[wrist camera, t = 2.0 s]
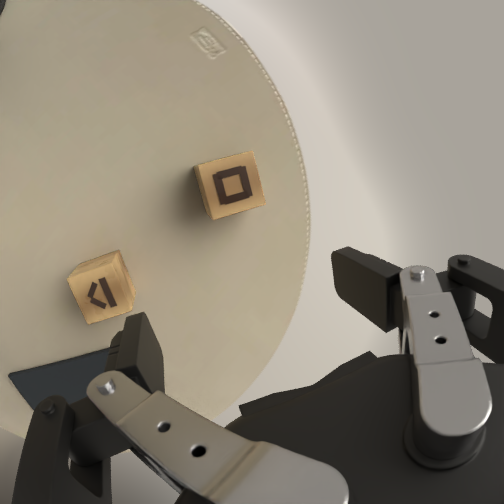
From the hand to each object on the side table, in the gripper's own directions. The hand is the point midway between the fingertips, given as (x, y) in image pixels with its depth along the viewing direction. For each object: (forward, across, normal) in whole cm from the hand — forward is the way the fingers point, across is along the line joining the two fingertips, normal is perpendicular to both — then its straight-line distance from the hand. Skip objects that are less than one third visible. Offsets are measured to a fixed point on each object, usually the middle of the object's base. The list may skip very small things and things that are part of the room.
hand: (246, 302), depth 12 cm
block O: (+16, -3, -4) cm, 17 cm away
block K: (+16, +10, +2) cm, 19 cm away
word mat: (+16, +21, +13) cm, 29 cm away
